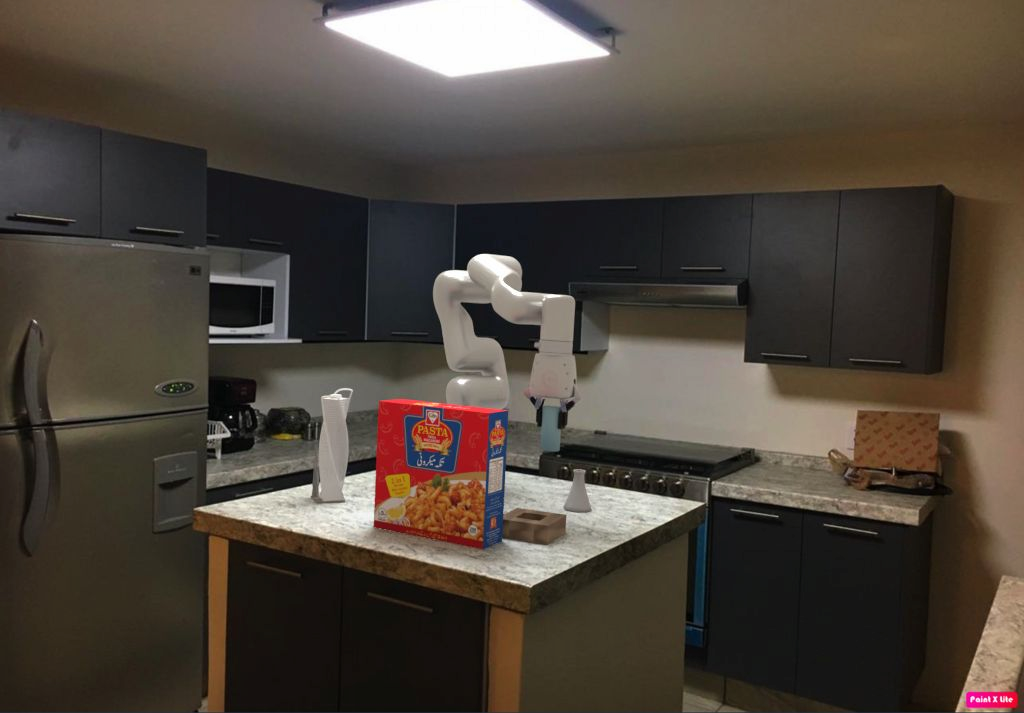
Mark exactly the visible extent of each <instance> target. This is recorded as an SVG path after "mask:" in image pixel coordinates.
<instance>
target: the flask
mask: <svg viewBox="0 0 1024 713" xmlns="http://www.w3.org/2000/svg"><path fill="white" fill-rule="evenodd" d="M572 472H573V480H572V486H570V487H571V488H570V490H569V492H568V496H567V497H566V500H565V502H564V504H563V509H564V510H565V511H571V512H578V513H579V512H580V513H581V512H583V513H584V512H585V513H586V512H590V511H592V506H591V503H590V499H589V496H588V491H587V488H586V481H585V474H586V473H587V471H586V470H585V469H581V468H580V469H578V468H577V469H573V470H572Z"/></svg>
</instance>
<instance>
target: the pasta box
mask: <svg viewBox="0 0 1024 713" xmlns="http://www.w3.org/2000/svg"><path fill="white" fill-rule="evenodd" d="M377 411H378V413H377V414H378V415H377V432H376V433H377V436H376V437H377V438H376V462H375V483H374V484H375V487H374V504H373V506H374V508H373V509H374V512H373V528H374V527H376V528H375V529H379V528H381V529H380V530H384V529H386V530H385V531H389V530H391V531H390V532H394V531H395V533H398V532H400V533H399V534H403V533H405V535H410V536H414V537H418V536H419V538H423V537H425V539H428V538H430V539H429V540H433V539H435V540H434V541H438V540H439V541H440V542H443V541H444V542H443V543H448V544H449V543H450V544H454V545H459V546H465V547H468V548H469V547H470V548H474V549H479V550H485V549H487V548H490V547H492V546H494V545H497V544H499V543H501V542H503V538H502V533H503V515H504V511H505V510H504V509H505V508H504V506H505V488H506V487H505V486H506V468H507V467H506V465H507V450H508V449H507V448H508V447H507V446H508V426H509V410H508V409H507V410H506V409H501V410H499V409H490V408H481V407H471V406H462V405H453V404H447V403H441V402H433V401H423V400H413V399H405V398H404V399H403V398H398V399H385V400H379V401H378V410H377Z"/></svg>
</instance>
